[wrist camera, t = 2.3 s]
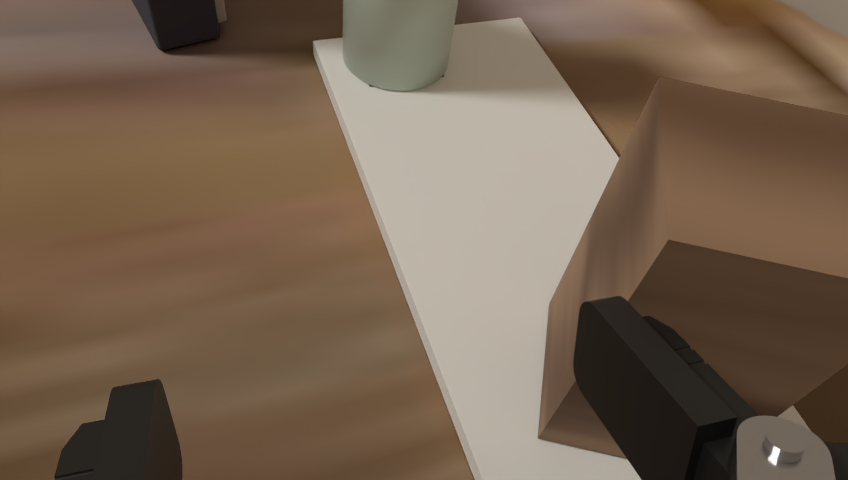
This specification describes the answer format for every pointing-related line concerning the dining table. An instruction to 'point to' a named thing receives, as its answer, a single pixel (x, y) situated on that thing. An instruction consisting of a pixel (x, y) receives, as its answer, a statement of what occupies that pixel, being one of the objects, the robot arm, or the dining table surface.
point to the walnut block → (715, 250)
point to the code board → (483, 228)
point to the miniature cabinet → (181, 20)
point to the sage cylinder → (398, 41)
